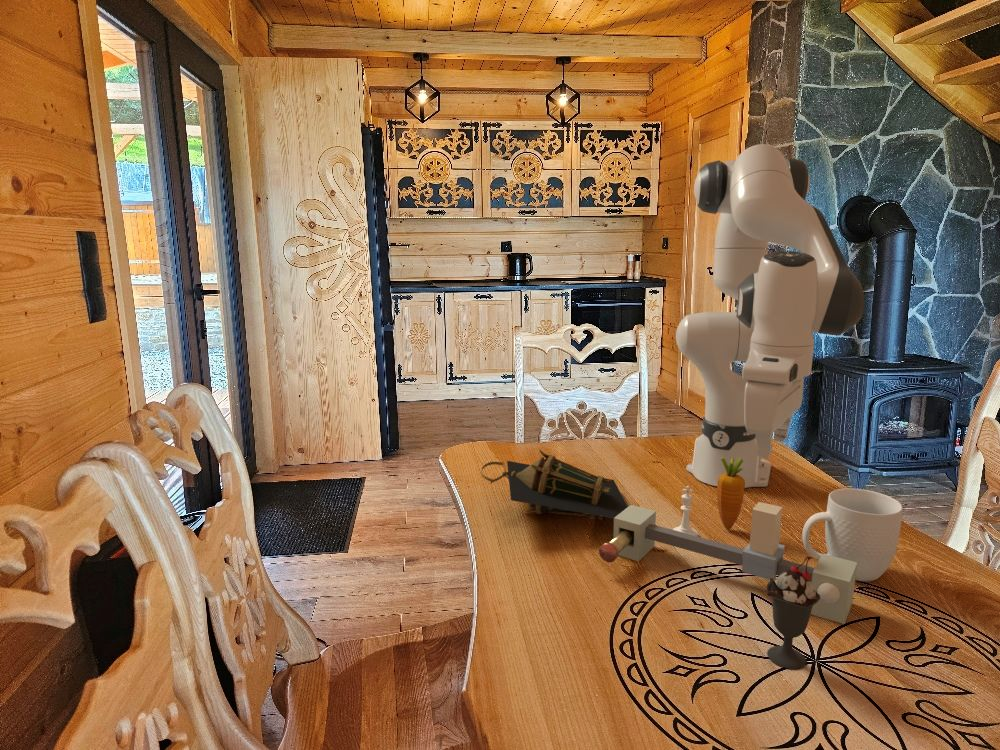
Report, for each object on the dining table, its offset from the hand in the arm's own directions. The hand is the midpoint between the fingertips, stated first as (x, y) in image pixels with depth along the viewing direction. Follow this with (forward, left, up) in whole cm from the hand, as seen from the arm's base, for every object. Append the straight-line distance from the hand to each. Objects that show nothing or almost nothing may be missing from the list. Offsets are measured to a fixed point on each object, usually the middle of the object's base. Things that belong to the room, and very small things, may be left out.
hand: (772, 447), depth 103 cm
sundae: (+16, +8, -24) cm, 30 cm away
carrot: (-18, -11, -24) cm, 32 cm away
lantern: (-5, -43, -24) cm, 50 cm away
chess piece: (-11, -17, -24) cm, 32 cm away
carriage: (0, 0, -21) cm, 21 cm away
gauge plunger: (+6, -22, -22) cm, 32 cm away
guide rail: (0, -6, -24) cm, 25 cm away
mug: (-14, +11, -24) cm, 30 cm away
